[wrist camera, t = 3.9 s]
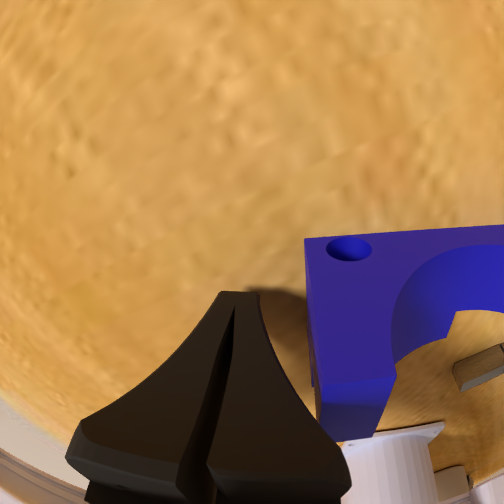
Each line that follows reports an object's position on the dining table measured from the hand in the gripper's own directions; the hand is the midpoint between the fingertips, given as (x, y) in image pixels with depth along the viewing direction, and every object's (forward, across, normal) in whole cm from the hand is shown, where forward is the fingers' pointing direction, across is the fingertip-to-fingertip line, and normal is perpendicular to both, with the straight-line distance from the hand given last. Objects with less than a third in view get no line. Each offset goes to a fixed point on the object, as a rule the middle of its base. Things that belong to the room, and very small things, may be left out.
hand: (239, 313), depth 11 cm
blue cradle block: (+1, -8, -1) cm, 9 cm away
